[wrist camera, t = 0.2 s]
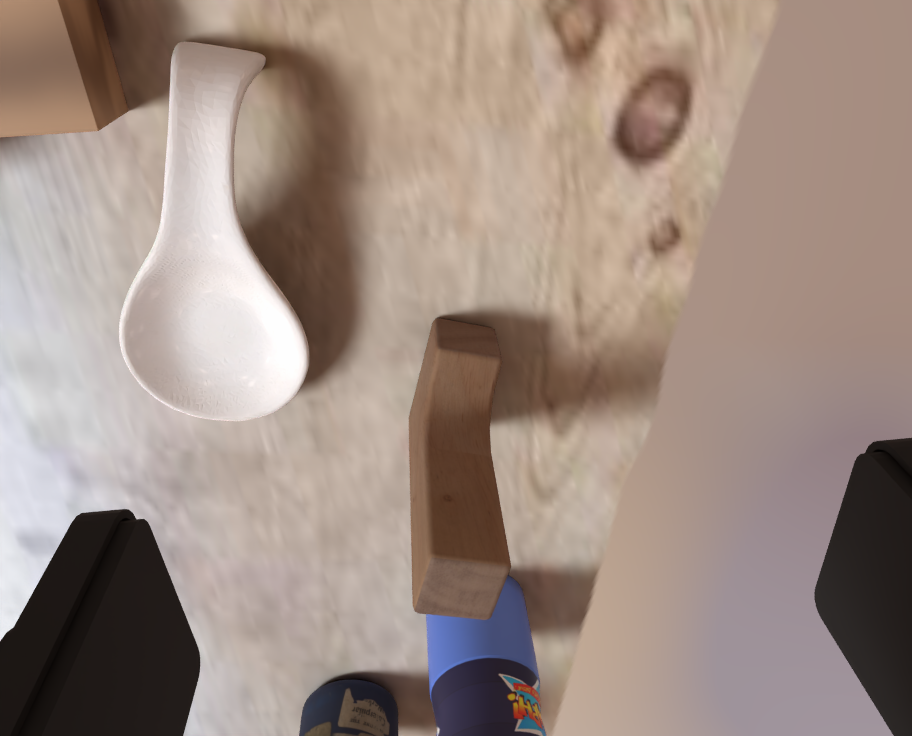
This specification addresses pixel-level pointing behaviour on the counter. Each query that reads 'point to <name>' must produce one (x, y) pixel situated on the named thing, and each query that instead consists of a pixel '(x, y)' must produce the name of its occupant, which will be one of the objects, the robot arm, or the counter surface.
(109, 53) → the walnut block
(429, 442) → the wooden block
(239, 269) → the spoon rest
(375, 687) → the canister
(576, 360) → the counter surface
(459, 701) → the water bottle
